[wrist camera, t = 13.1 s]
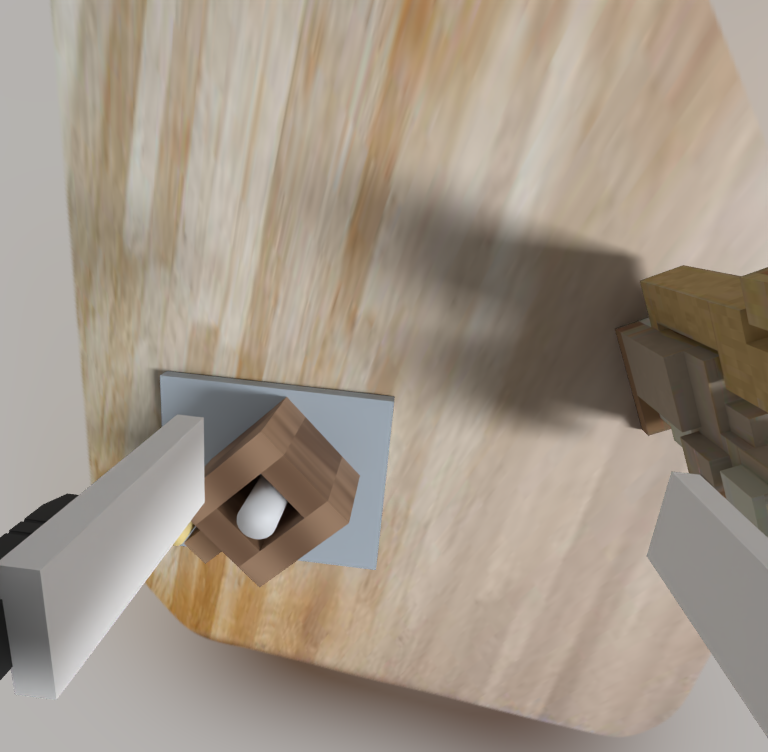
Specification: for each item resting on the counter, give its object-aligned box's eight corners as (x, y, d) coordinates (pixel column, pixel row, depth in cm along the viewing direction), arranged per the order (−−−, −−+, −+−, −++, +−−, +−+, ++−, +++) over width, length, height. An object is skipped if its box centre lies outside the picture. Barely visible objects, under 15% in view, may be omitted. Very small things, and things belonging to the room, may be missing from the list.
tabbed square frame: (286, 396, 42) (261, 431, 35) (359, 475, 43) (348, 523, 37) (179, 485, 45) (136, 533, 38) (251, 556, 46) (222, 613, 40)
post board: (166, 371, 43) (101, 411, 34) (394, 396, 42) (387, 444, 33) (172, 536, 48) (116, 608, 39) (376, 561, 47) (366, 640, 38)
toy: (650, 460, 42) (839, 661, 23) (596, 262, 38) (774, 311, 19) (733, 436, 41) (1000, 625, 22) (687, 230, 37) (970, 245, 18)
